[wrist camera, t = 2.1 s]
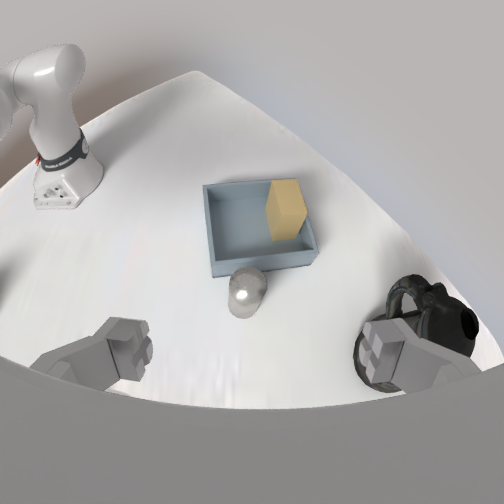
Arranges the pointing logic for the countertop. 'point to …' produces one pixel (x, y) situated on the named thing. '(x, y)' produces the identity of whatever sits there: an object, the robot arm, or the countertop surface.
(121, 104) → the countertop surface
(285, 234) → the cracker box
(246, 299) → the tin
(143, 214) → the countertop surface
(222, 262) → the tote
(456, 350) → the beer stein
